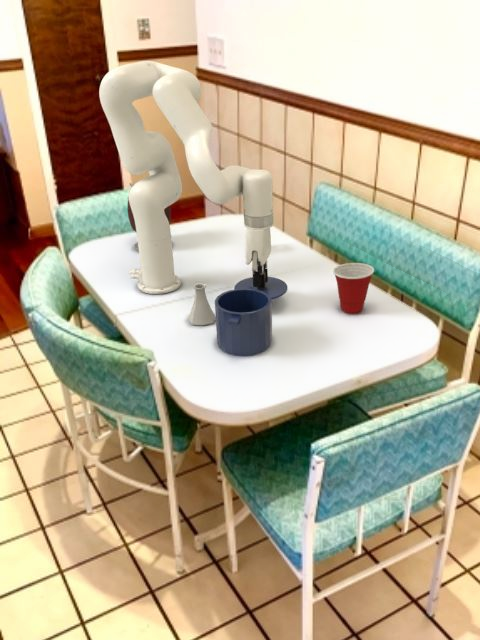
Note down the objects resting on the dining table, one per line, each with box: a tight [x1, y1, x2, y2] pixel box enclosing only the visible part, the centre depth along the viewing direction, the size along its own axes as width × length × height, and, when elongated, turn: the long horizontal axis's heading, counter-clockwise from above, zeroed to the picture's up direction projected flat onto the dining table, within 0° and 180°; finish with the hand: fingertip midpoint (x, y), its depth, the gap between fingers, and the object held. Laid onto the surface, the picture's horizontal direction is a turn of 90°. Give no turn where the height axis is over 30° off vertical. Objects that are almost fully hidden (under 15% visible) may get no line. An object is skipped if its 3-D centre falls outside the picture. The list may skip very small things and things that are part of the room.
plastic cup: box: [332, 262, 375, 315], centre depth 170 cm, size 11×11×12 cm
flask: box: [188, 282, 216, 326], centre depth 167 cm, size 7×7×10 cm
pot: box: [214, 286, 273, 357], centre depth 156 cm, size 14×19×12 cm
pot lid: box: [233, 271, 289, 301], centre depth 173 cm, size 15×15×6 cm
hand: (260, 283), depth 174 cm, fingers closed on pot lid, 2 cm apart
